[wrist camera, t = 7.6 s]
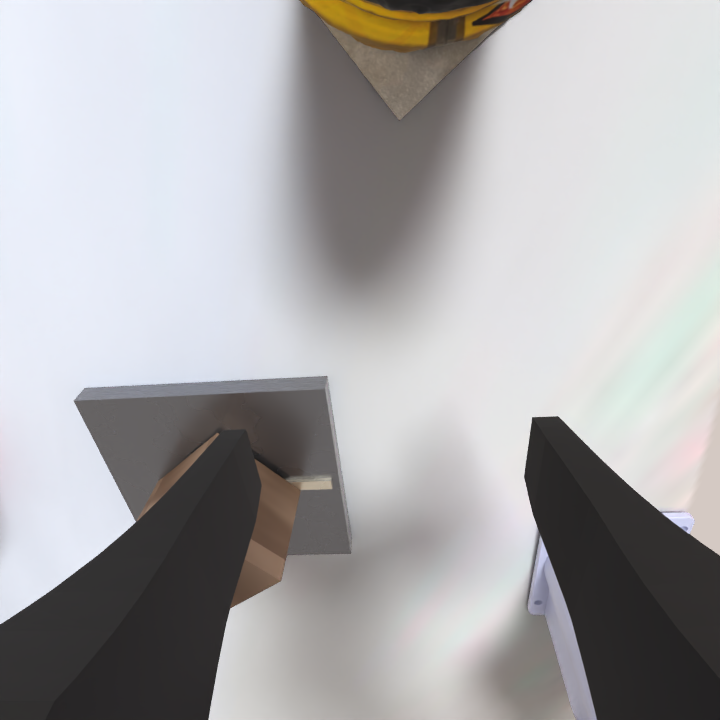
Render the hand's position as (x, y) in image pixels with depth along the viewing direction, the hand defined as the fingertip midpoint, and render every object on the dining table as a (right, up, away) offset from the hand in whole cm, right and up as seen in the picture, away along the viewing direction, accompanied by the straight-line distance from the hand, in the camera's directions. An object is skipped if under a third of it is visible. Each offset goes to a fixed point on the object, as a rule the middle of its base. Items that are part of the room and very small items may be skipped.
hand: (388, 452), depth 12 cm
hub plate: (-8, -4, +14) cm, 16 cm away
